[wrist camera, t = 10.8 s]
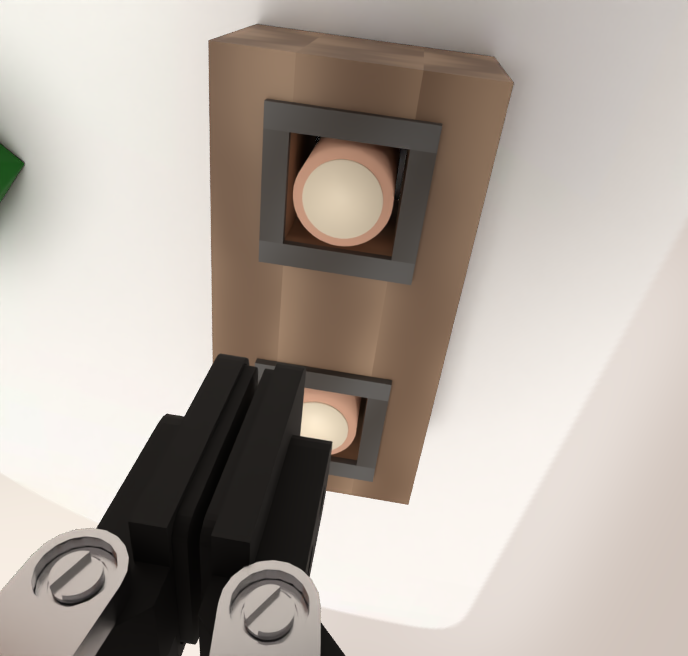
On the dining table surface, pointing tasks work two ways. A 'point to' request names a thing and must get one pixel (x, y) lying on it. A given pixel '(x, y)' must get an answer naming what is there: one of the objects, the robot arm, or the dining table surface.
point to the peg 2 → (330, 417)
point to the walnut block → (359, 260)
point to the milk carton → (8, 170)
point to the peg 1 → (346, 190)
